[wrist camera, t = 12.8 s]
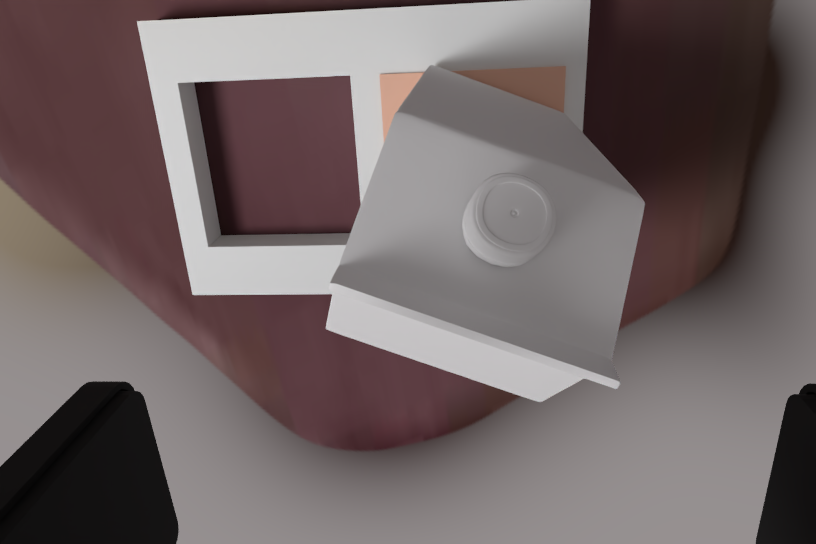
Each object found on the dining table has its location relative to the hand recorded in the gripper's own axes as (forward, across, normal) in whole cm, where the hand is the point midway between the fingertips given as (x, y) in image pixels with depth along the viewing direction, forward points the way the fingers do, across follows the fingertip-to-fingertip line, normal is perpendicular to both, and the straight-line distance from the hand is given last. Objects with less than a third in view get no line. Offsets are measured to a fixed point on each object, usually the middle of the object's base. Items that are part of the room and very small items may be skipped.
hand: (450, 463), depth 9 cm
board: (+26, +5, +1) cm, 27 cm away
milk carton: (+24, 0, +1) cm, 24 cm away
